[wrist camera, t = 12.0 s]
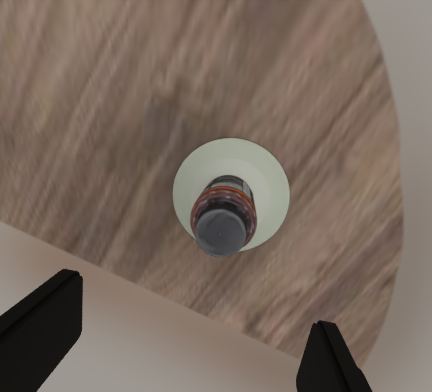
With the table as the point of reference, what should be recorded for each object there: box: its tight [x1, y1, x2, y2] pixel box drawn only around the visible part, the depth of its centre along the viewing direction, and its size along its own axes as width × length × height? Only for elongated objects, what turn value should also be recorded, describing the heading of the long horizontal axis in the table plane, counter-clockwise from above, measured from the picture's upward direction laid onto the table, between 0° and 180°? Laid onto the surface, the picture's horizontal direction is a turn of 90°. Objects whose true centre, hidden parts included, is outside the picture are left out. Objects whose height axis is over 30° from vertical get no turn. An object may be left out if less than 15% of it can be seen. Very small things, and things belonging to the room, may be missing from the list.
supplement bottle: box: [190, 175, 257, 257], centre depth 24 cm, size 6×6×11 cm
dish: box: [173, 138, 290, 251], centre depth 31 cm, size 14×14×2 cm
